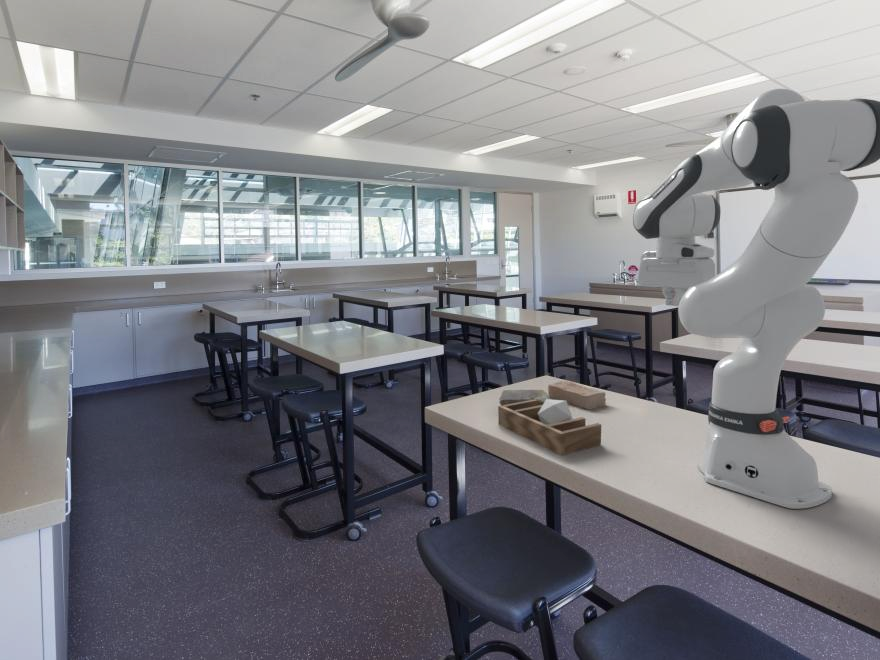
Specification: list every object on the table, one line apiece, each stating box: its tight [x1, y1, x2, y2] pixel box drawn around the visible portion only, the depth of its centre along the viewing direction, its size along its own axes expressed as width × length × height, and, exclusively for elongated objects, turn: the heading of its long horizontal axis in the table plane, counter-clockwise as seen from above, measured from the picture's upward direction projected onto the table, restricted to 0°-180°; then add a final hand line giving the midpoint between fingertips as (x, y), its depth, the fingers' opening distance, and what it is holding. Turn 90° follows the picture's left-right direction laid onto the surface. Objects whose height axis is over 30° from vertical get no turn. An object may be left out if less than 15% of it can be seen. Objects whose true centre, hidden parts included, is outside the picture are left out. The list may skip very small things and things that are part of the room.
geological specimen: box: [498, 389, 551, 406], centre depth 149 cm, size 11×6×15 cm
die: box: [538, 398, 573, 425], centre depth 132 cm, size 8×9×10 cm
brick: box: [547, 380, 607, 410], centre depth 158 cm, size 17×8×5 cm, turn 33°
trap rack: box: [497, 399, 602, 456], centre depth 130 cm, size 25×12×5 cm, turn 28°
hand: (672, 305), depth 132 cm, fingers closed
